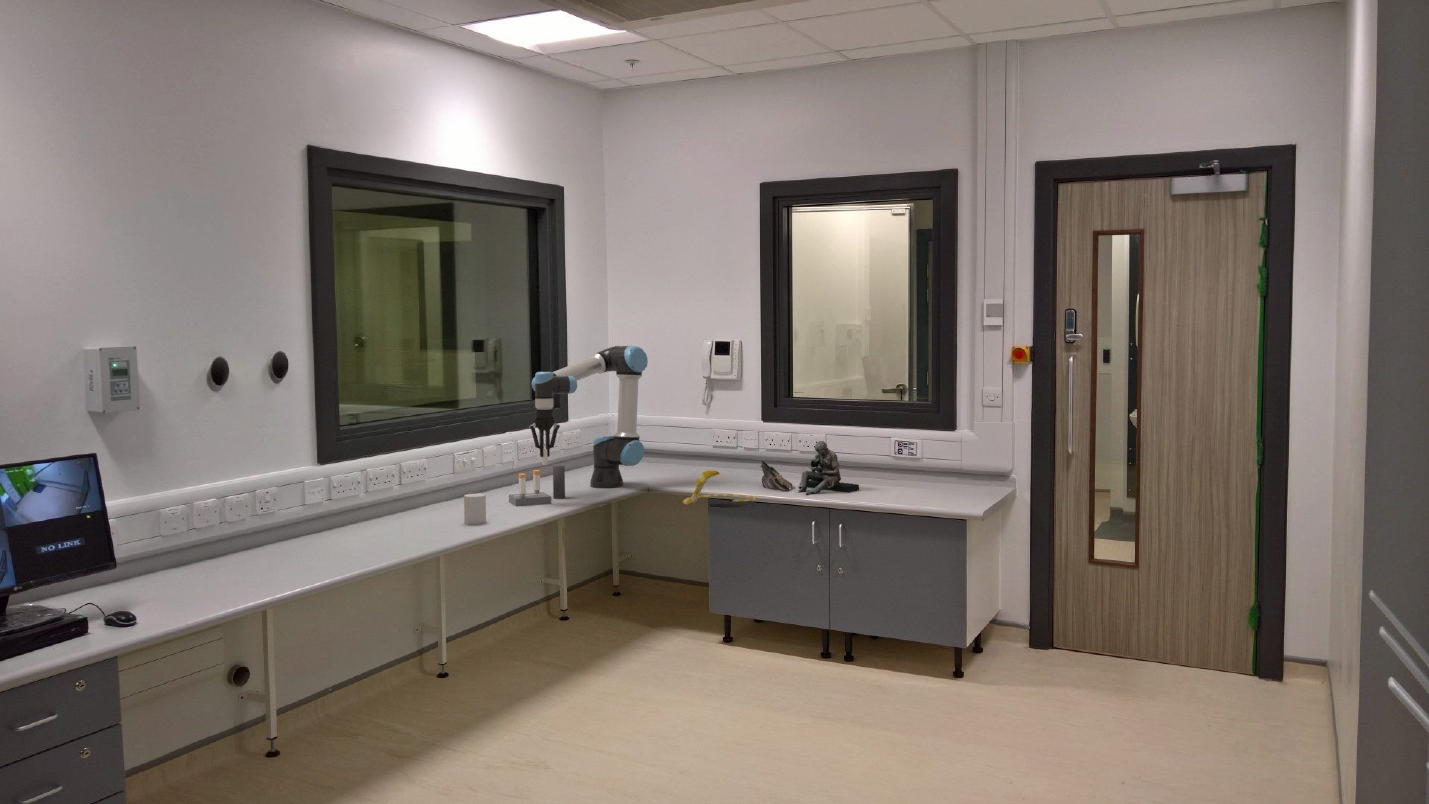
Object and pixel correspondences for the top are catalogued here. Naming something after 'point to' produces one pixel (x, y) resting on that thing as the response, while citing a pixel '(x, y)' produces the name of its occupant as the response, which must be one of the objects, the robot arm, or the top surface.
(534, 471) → the paddle
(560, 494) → the post
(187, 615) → the top surface
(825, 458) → the figurine
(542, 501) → the grey tube rack
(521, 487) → the paddle
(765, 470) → the brown ridged tapered piece
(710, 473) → the toy
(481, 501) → the light grey upright cylinder
